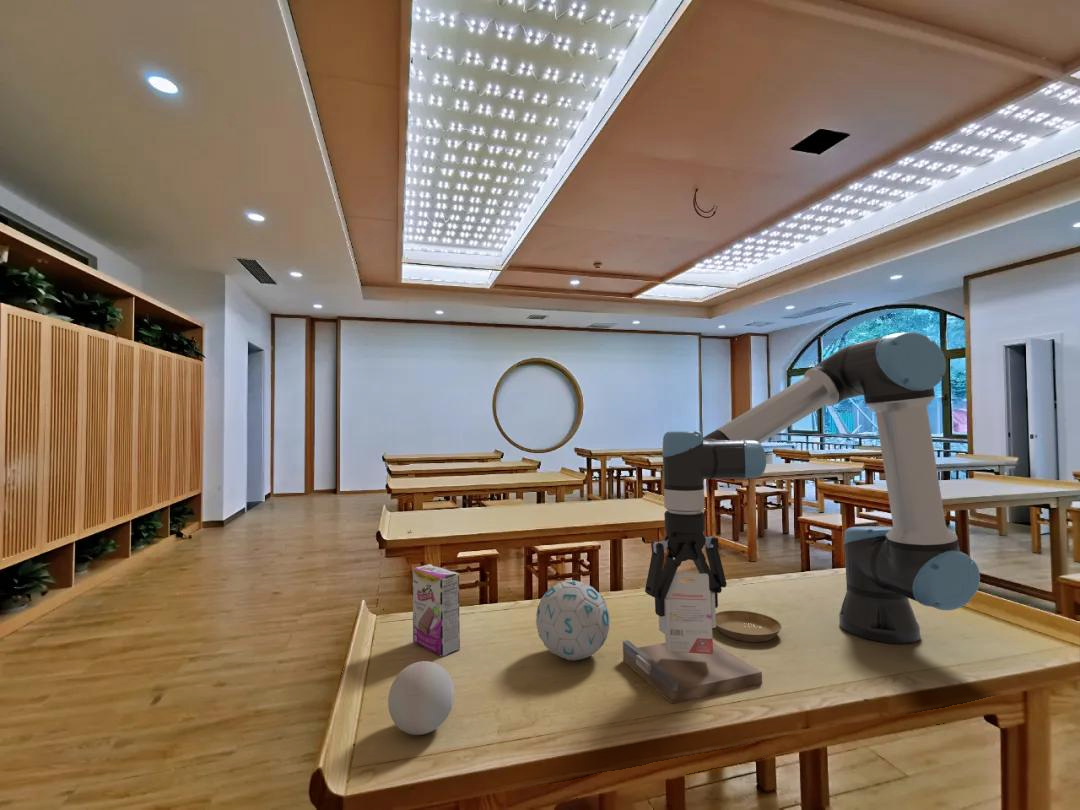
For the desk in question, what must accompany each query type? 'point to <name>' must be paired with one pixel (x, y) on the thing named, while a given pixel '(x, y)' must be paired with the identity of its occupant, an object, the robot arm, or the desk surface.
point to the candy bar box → (436, 609)
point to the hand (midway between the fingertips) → (687, 628)
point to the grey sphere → (421, 698)
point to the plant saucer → (734, 625)
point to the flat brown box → (689, 671)
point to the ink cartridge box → (690, 615)
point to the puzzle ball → (572, 620)
